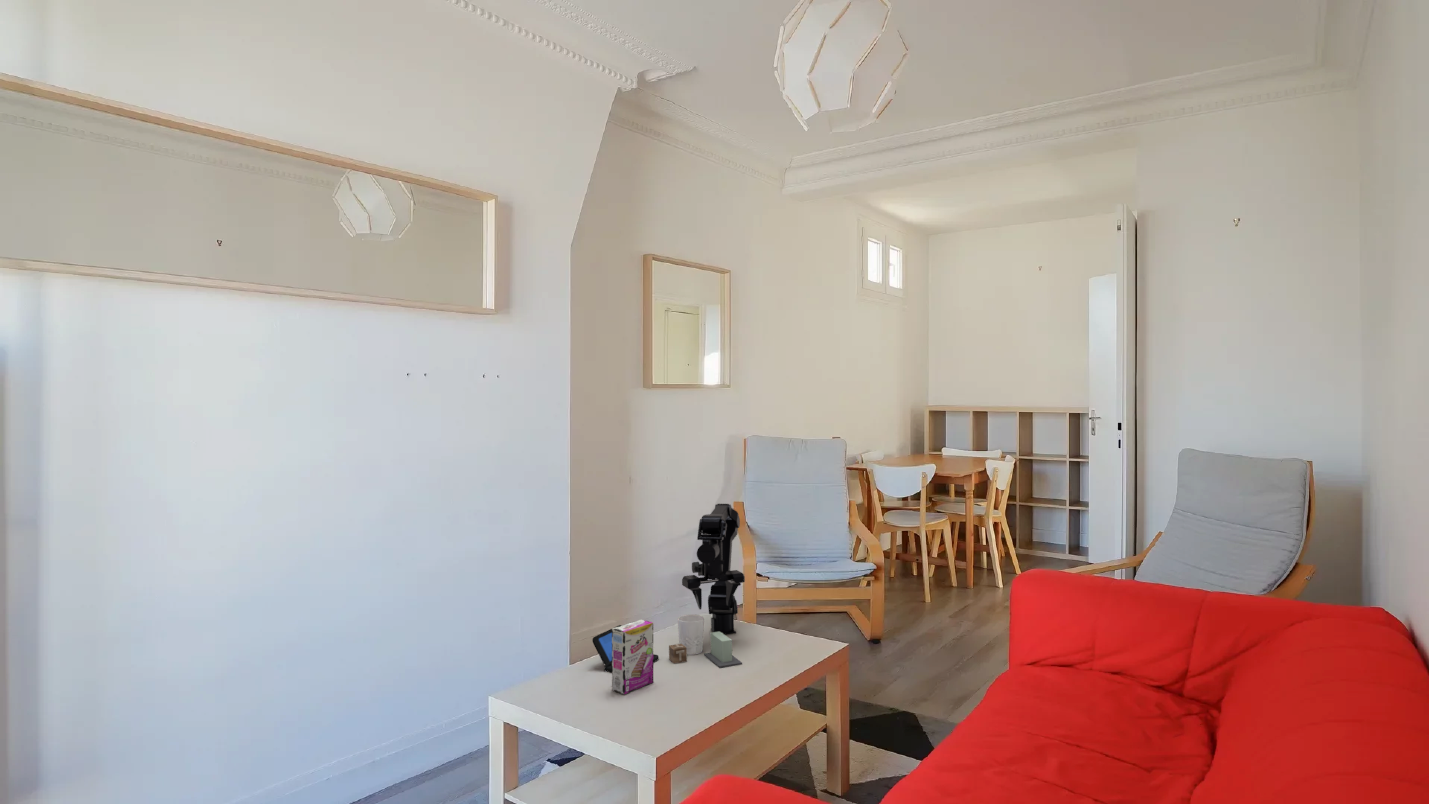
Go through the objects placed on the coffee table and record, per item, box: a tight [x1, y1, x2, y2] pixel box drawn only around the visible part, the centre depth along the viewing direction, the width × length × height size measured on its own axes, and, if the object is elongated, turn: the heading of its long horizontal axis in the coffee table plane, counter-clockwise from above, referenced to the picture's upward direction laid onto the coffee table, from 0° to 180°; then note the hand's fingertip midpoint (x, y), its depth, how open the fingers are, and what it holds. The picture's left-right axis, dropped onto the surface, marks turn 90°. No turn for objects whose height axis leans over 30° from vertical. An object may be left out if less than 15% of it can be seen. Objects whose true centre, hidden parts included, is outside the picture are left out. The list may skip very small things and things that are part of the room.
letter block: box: [668, 643, 688, 664], centre depth 221 cm, size 4×4×4 cm
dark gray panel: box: [703, 651, 743, 669], centre depth 221 cm, size 7×12×1 cm, turn 22°
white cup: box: [677, 614, 705, 656], centre depth 229 cm, size 8×8×10 cm
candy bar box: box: [611, 619, 654, 695], centre depth 201 cm, size 11×5×16 cm, turn 141°
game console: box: [591, 624, 659, 673], centre depth 219 cm, size 16×14×9 cm
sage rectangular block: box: [709, 631, 733, 662], centre depth 222 cm, size 9×3×6 cm, turn 22°
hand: (714, 607), depth 233 cm, fingers open, 9 cm apart
